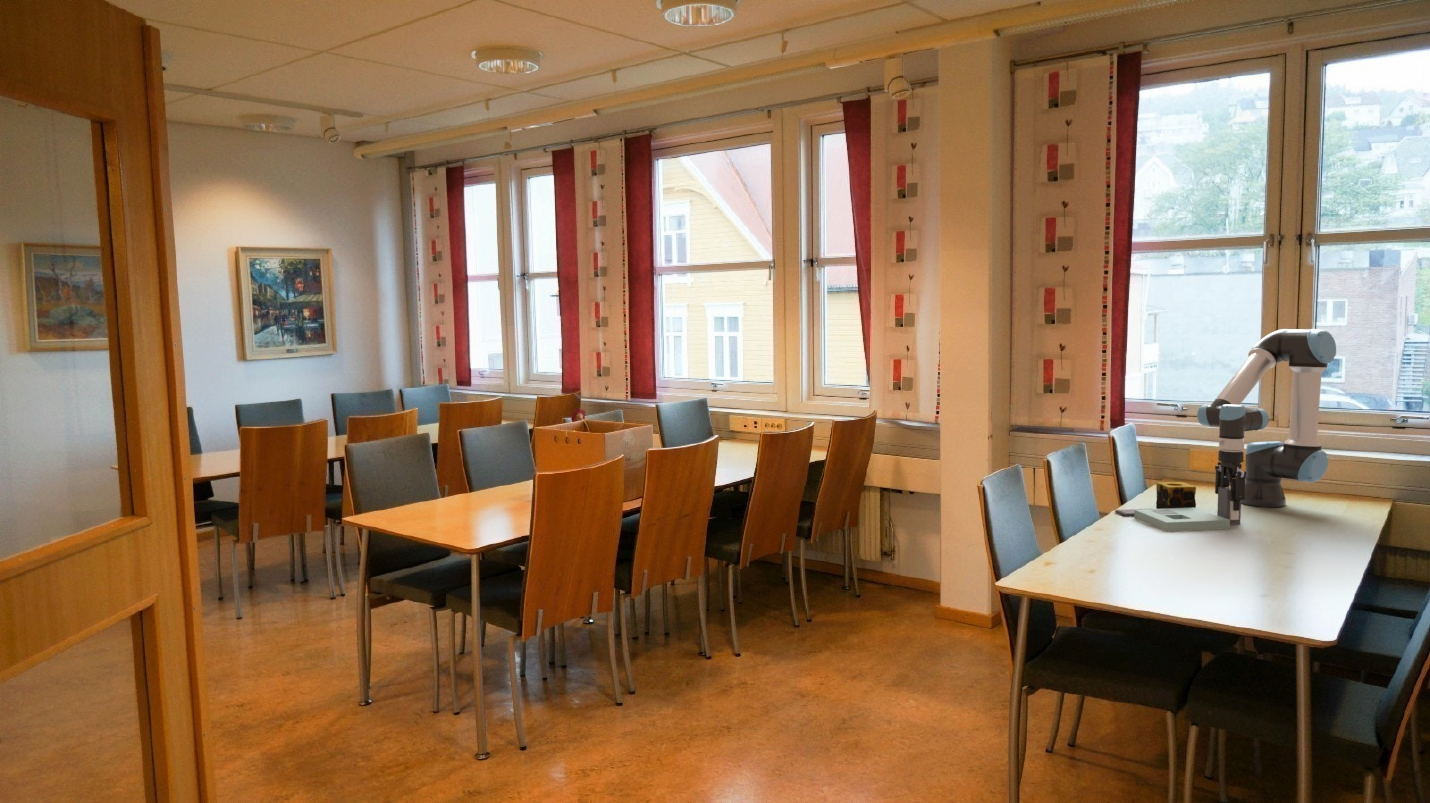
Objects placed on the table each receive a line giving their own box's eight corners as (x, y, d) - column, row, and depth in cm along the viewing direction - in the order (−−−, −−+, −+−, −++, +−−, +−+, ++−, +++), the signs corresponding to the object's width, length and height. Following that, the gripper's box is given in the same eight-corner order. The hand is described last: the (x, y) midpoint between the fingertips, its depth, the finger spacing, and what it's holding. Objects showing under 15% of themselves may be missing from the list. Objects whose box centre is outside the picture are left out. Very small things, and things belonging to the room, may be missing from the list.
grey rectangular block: (1230, 520, 327) (1232, 485, 326) (1240, 524, 322) (1241, 488, 321) (1217, 521, 327) (1218, 486, 325) (1226, 524, 322) (1227, 489, 320)
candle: (1196, 514, 338) (1197, 486, 337) (1167, 514, 339) (1168, 487, 338) (1183, 508, 348) (1183, 481, 347) (1155, 508, 349) (1155, 481, 348)
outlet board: (1193, 515, 336) (1194, 507, 335) (1229, 528, 316) (1229, 519, 316) (1134, 518, 334) (1134, 509, 333) (1166, 531, 314) (1166, 522, 314)
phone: (1152, 511, 344) (1152, 508, 344) (1163, 515, 337) (1163, 512, 337) (1115, 512, 343) (1115, 509, 343) (1125, 516, 336) (1125, 513, 336)
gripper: (1204, 446, 330) (1202, 512, 333) (1237, 454, 313) (1235, 524, 315) (1224, 446, 331) (1222, 511, 333) (1259, 453, 313) (1256, 523, 315)
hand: (1228, 517), depth 324 cm, fingers closed on grey rectangular block, 5 cm apart
